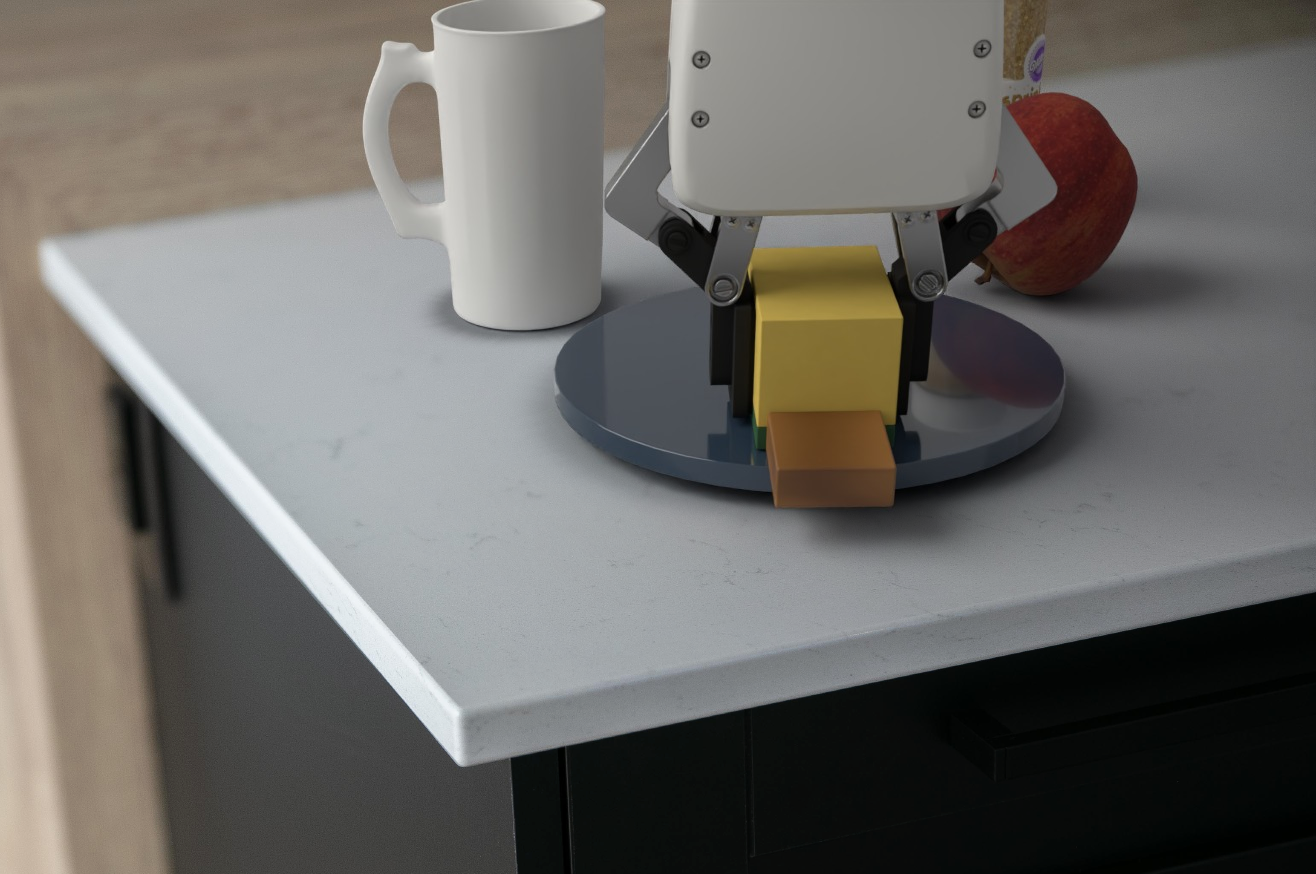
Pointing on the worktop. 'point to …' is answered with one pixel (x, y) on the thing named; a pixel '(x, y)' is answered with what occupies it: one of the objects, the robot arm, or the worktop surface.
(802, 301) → the sponge
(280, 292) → the worktop surface
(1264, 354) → the worktop surface
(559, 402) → the plate
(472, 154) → the mug
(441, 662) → the worktop surface
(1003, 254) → the apple
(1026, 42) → the sprinkles bottle
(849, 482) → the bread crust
